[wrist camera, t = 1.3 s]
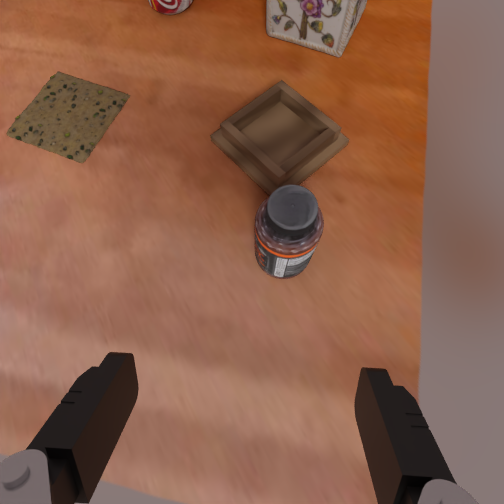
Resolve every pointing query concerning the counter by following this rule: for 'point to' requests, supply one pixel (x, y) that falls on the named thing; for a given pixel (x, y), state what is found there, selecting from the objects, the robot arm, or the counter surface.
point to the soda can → (170, 6)
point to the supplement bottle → (287, 231)
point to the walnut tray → (279, 138)
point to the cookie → (68, 116)
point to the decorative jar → (314, 22)
